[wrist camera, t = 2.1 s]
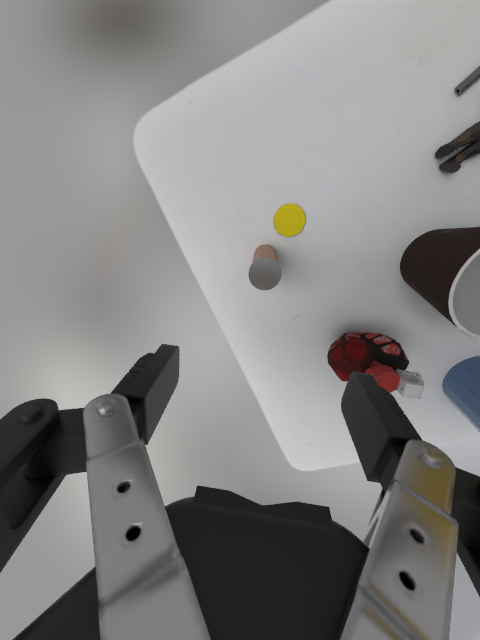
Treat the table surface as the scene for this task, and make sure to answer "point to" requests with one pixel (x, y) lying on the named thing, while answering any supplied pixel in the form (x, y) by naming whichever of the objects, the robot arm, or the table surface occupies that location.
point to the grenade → (375, 362)
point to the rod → (468, 81)
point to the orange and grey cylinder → (264, 268)
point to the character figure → (471, 150)
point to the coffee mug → (447, 274)
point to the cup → (465, 389)
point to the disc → (289, 220)
